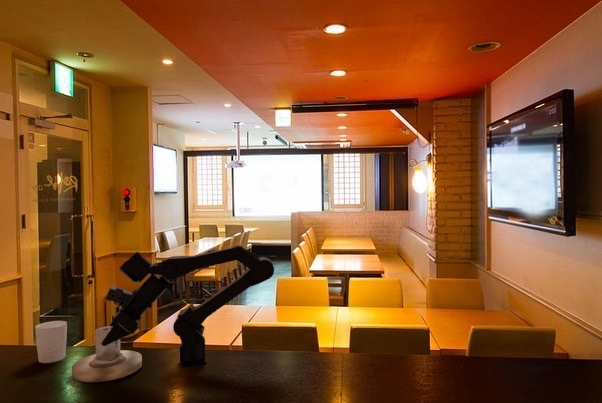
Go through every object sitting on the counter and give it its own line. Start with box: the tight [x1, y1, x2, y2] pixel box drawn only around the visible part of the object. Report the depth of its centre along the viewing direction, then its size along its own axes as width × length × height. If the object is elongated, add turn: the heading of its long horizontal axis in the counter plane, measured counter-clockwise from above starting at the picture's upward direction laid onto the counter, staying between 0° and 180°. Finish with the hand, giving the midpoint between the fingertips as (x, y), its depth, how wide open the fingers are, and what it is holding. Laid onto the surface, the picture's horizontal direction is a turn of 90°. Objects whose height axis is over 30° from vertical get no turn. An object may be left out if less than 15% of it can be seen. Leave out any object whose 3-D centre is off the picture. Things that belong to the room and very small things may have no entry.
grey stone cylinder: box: [93, 325, 123, 366], centre depth 116 cm, size 7×7×9 cm
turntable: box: [71, 349, 143, 383], centre depth 116 cm, size 17×17×2 cm
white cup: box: [34, 320, 68, 364], centre depth 125 cm, size 8×8×10 cm
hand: (104, 339), depth 115 cm, fingers open, 9 cm apart
